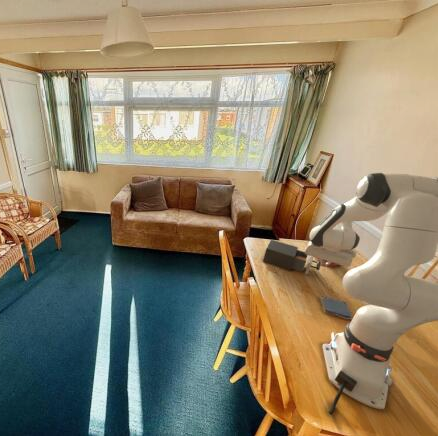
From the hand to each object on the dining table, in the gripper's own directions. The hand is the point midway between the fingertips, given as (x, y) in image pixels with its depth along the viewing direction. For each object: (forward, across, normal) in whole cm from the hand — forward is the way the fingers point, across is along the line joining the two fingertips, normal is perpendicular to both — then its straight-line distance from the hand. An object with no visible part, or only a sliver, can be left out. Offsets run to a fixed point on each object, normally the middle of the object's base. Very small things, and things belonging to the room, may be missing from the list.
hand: (322, 266), depth 125 cm
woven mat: (+6, -7, +25) cm, 27 cm away
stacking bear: (+6, -3, -17) cm, 18 cm away
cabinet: (+6, +21, 0) cm, 22 cm away
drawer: (+5, +10, 0) cm, 11 cm away
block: (+4, +10, 0) cm, 11 cm away
